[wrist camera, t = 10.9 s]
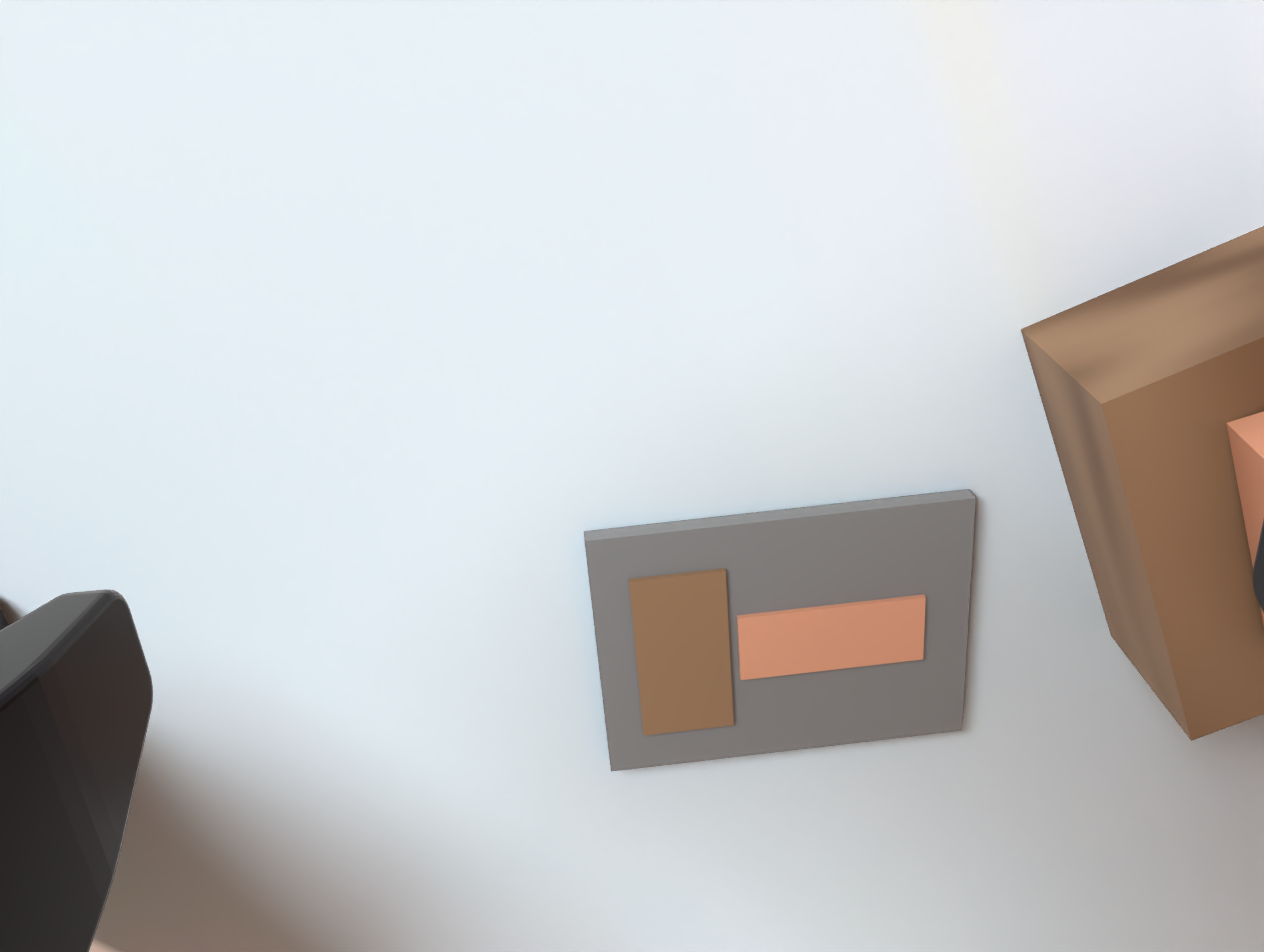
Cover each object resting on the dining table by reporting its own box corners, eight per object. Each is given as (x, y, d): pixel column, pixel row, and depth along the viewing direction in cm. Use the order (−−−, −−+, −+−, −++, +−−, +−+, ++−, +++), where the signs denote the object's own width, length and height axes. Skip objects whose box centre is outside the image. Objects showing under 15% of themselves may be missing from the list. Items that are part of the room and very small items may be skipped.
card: (610, 759, 27) (611, 774, 26) (584, 531, 24) (585, 543, 24) (956, 719, 27) (963, 734, 27) (969, 489, 24) (977, 501, 24)
